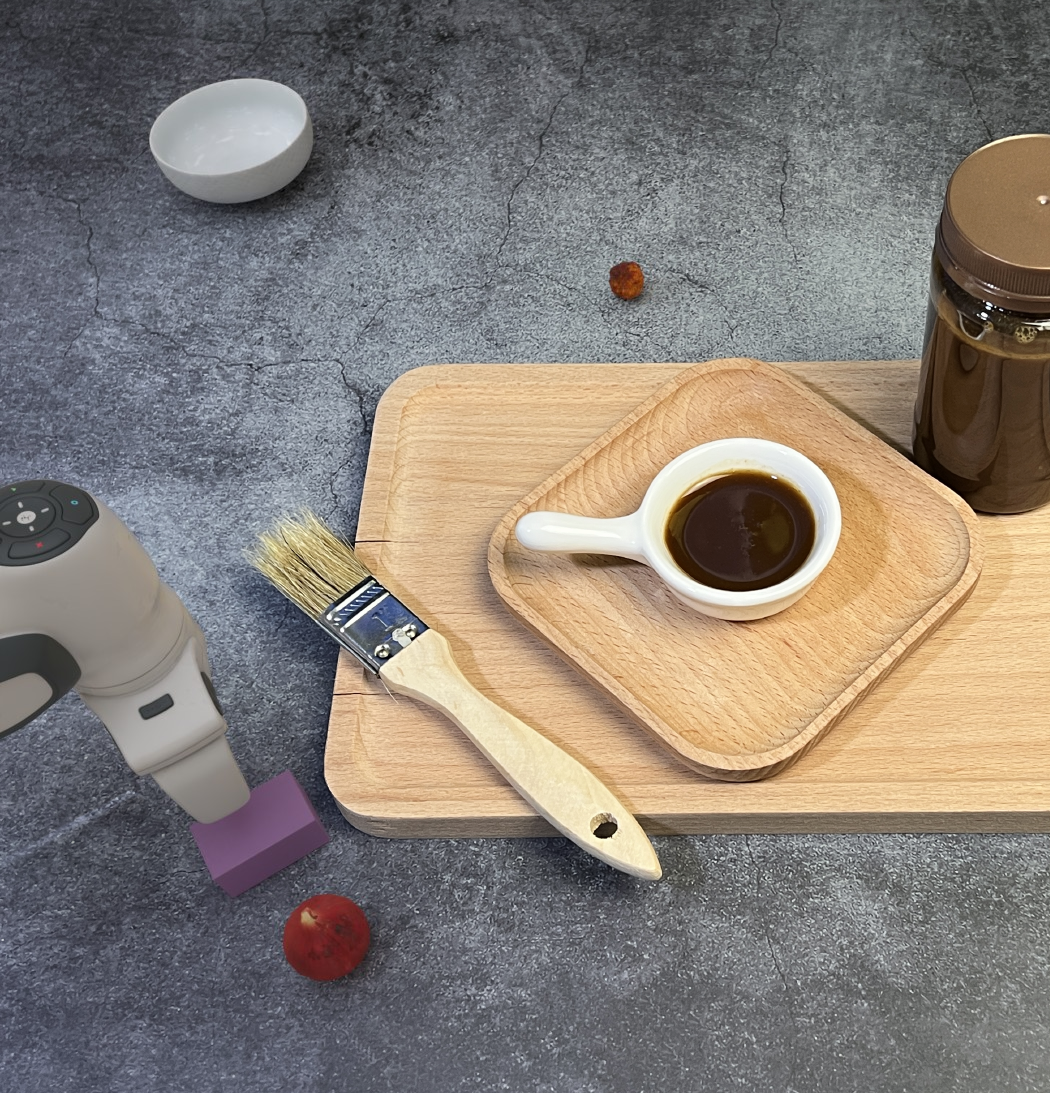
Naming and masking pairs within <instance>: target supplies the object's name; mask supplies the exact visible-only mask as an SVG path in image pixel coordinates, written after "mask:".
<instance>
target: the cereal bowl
mask: <svg viewBox="0 0 1050 1093" xmlns="http://www.w3.org/2000/svg"><path fill="white" fill-rule="evenodd" d="M148 140H149V142H148V143H149V147H150V148H149V149H150V150H151V153H152V156H153V158H154V160H155V161H156V163H157V166H158V167H159V168H160V169H161V172H162V173H163V174H164V175H165V176H164V177H166V178H167V179H168V180H169V182H170V183H171V184H173V185H174V187H175V188H177V189H179V190H180V191H181V192H184V194H186V195H189V196H191V197H194V198H195V199H199V200H202V201H206V202H209V203H215V204H218V203H219V204H238V203H246V202H251V201H255V200H259V199H262V198H265V197H267V196H269V195H272V194H274V193H277V191H279V190H281V189H283V188H284V187H285V186H287V185H288V184H290V183H291V182H292V181H294V179H295V178H296V177H298V176H299V174H300V173H301V172H302V171H303V169H304V168H305V167H306V165H307V162H308V161H309V159H310V157H311V155H312V151H313V147H314V129H313V125H312V119H311V115H310V112H309V108H308V106H307V105H306V102H305V101H304V99H303V98H302V96H301V95H300V94H299V93H298V92H296V91H295V90H294V89H292V88H291V87H289V86H287V85H285V84H283V83H280V82H276V81H273V80H270V79H269V80H268V79H264V78H263V79H262V78H235V79H227V80H223V81H218V82H214V83H211V84H207V85H204V86H201V87H199V88H197V89H194V90H192V91H190V92H188V93H186V94H185V95H182V96H181V97H179V98H178V99H176V100H175V101H173V102H172V103H171V104H170V105H169V106H167V107H166V108H165V109H164V110H163V111H162V112H161V113H160V114H159V116H158V117H157V118H156V119H155V121H154V122H153V125H152V126H151V129H150V132H149V139H148Z"/></svg>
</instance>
